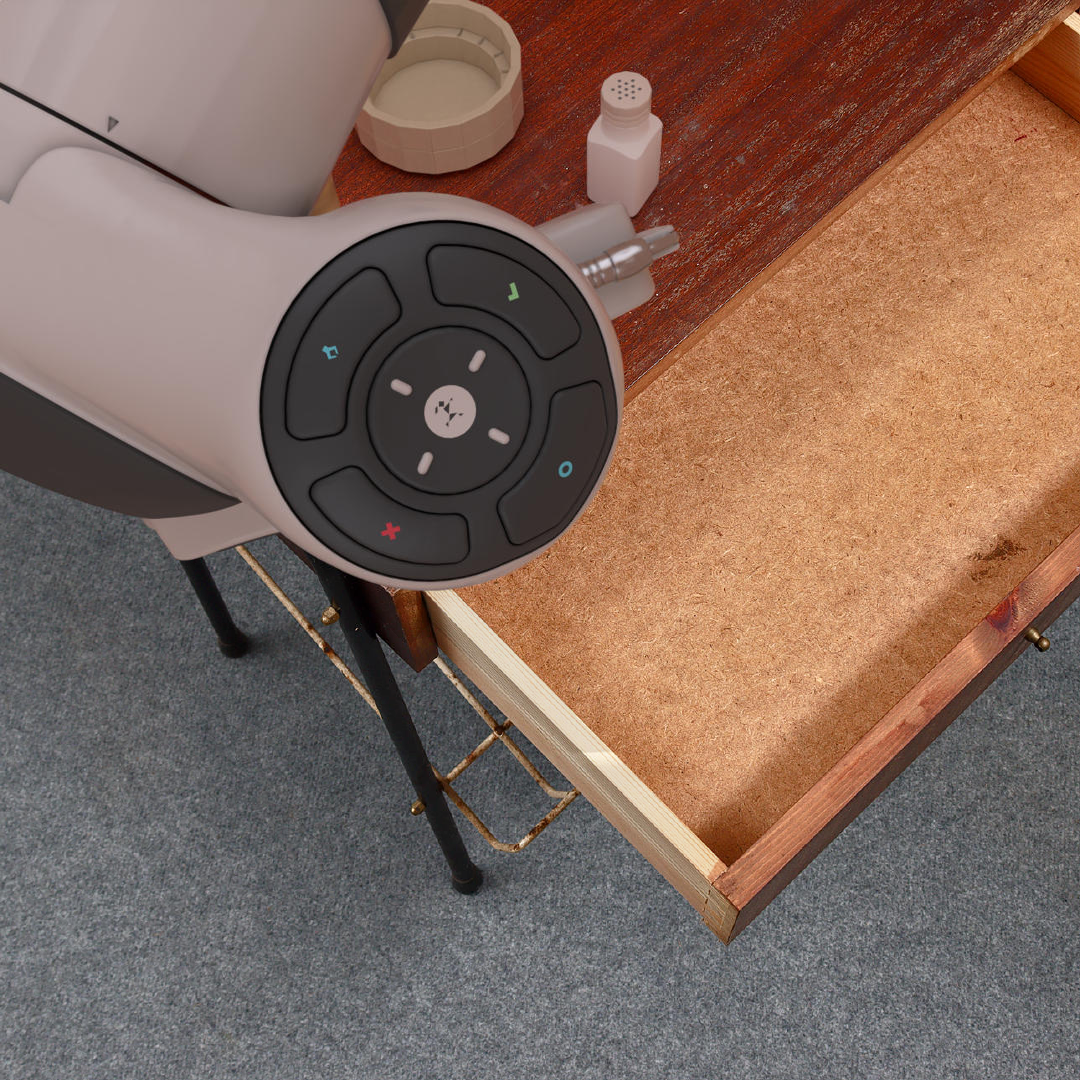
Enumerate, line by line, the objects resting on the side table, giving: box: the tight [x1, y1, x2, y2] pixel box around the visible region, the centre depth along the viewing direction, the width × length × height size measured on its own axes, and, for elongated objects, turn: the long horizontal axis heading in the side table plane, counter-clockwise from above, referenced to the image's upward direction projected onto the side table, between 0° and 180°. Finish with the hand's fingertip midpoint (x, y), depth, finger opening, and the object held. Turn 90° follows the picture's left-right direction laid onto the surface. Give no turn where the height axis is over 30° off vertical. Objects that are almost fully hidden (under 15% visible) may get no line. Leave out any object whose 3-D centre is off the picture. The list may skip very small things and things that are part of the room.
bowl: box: [353, 0, 525, 175], centre depth 90 cm, size 12×13×5 cm
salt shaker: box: [586, 70, 664, 218], centre depth 84 cm, size 4×4×10 cm
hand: (368, 342), depth 52 cm, fingers open, 8 cm apart
